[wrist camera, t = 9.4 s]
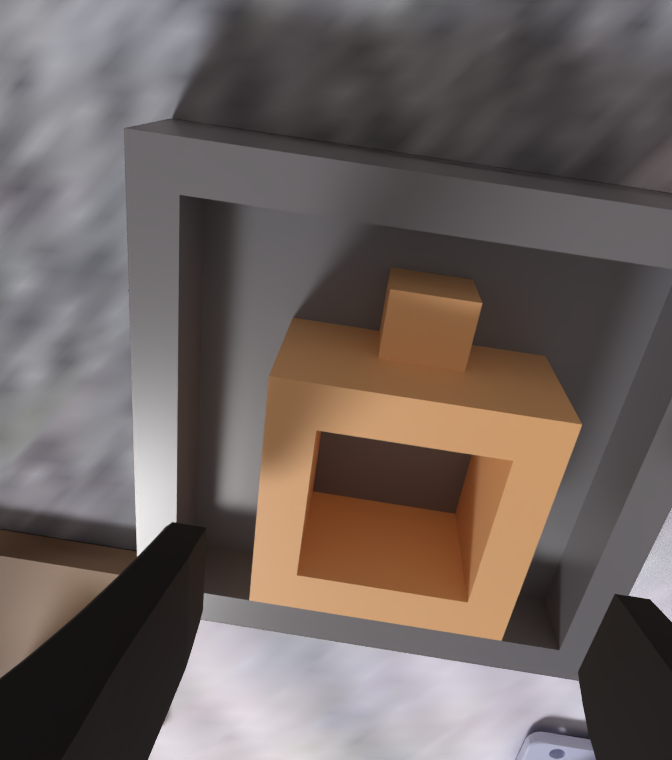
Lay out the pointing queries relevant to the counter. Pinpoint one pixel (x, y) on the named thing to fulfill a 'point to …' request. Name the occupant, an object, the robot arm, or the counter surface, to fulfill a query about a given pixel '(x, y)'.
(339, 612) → the ring
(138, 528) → the tray
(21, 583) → the stake board
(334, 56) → the counter surface
